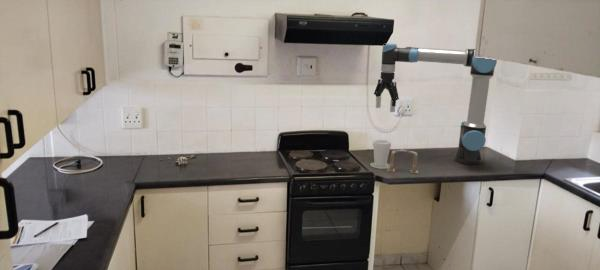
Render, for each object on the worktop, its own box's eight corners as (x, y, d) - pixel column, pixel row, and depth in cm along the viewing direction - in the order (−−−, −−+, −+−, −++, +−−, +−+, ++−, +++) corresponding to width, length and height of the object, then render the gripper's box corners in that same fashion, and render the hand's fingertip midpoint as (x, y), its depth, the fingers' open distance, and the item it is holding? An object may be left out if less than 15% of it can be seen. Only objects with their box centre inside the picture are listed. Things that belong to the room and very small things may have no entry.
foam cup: (390, 167, 263) (392, 144, 260) (372, 167, 263) (374, 143, 260) (387, 162, 272) (389, 140, 269) (370, 162, 272) (372, 139, 269)
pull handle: (415, 169, 264) (417, 150, 261) (418, 173, 257) (420, 153, 254) (386, 167, 265) (388, 148, 262) (388, 171, 258) (389, 151, 255)
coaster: (389, 163, 273) (389, 162, 273) (391, 169, 262) (391, 168, 262) (369, 162, 274) (369, 161, 273) (370, 168, 263) (370, 167, 263)
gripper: (369, 69, 281) (367, 106, 286) (395, 74, 259) (392, 114, 264) (380, 69, 284) (377, 105, 289) (407, 74, 262) (404, 113, 267)
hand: (385, 109), depth 276 cm, fingers open, 13 cm apart
